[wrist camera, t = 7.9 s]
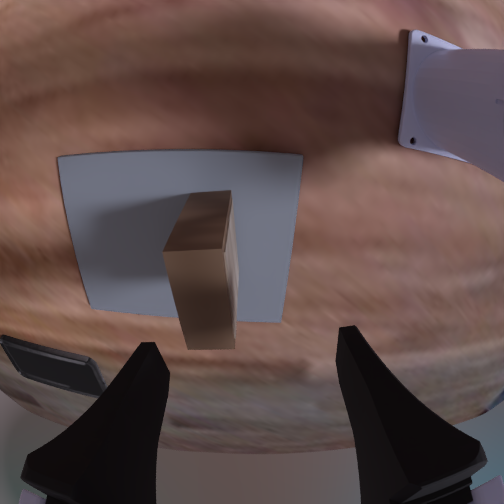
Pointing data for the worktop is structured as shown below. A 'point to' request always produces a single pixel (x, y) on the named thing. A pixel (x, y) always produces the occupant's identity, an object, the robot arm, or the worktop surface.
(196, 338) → the brown wooden block
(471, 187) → the worktop surface
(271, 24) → the worktop surface
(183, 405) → the worktop surface
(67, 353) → the phone
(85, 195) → the rubber mat
